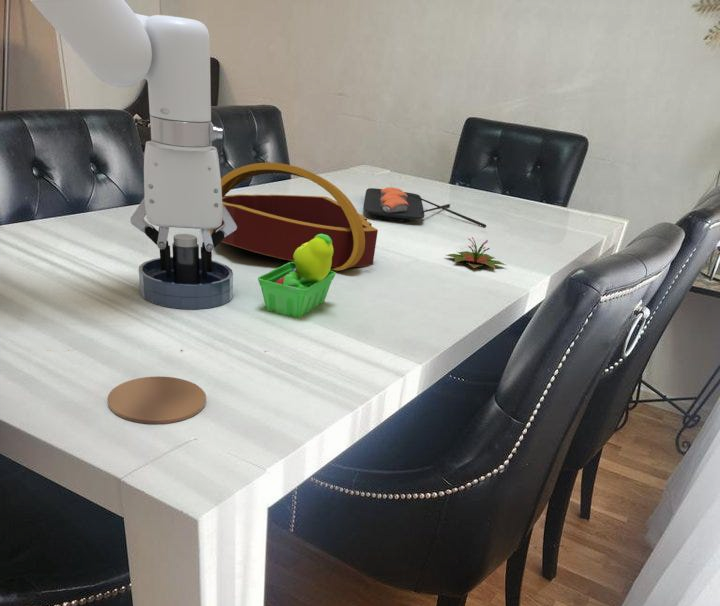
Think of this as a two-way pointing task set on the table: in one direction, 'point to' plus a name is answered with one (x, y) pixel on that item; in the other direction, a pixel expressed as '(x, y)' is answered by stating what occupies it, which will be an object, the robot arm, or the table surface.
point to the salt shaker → (186, 259)
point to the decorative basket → (296, 219)
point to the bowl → (185, 287)
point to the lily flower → (476, 257)
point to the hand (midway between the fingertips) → (186, 274)
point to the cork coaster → (156, 400)
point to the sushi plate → (400, 205)
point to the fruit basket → (300, 279)
